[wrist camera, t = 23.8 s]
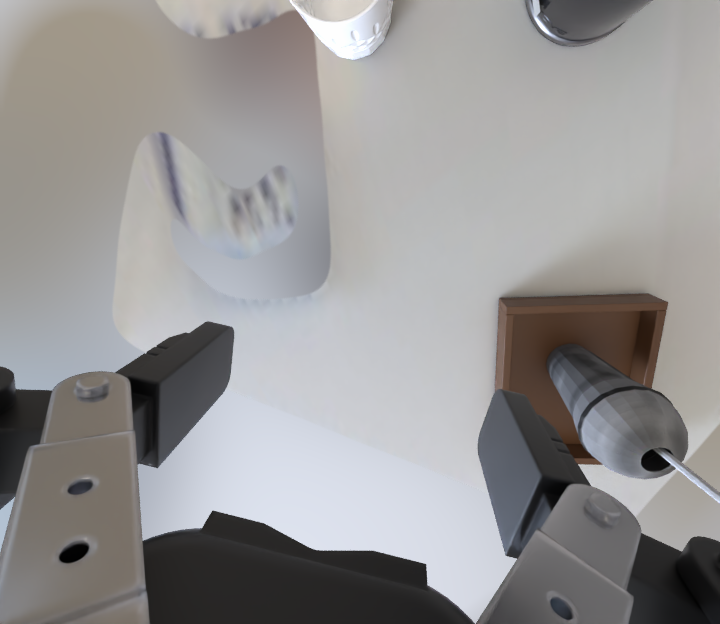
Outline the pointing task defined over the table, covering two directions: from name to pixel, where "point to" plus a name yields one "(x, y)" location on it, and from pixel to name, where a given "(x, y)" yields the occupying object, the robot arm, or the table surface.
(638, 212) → the table surface
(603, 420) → the beverage cup
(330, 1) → the white cup
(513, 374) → the tray
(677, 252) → the table surface
